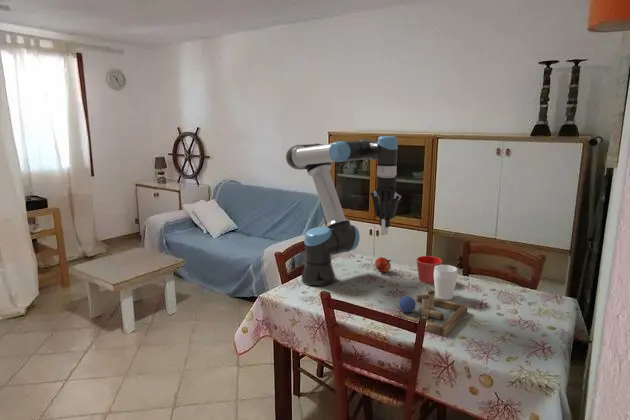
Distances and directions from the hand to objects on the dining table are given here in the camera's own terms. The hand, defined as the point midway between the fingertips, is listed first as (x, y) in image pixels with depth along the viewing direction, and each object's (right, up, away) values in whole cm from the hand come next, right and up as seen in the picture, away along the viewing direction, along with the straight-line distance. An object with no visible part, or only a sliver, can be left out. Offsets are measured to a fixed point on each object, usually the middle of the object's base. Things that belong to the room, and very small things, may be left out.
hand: (384, 234), depth 168 cm
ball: (+6, -25, -13) cm, 29 cm away
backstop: (+14, -29, -17) cm, 36 cm away
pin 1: (+12, -29, -18) cm, 36 cm away
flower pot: (+22, -22, +18) cm, 36 cm away
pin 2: (+15, -28, -14) cm, 35 cm away
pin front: (+11, -27, -15) cm, 33 cm away
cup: (+24, -25, 0) cm, 35 cm away
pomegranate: (+4, -20, +29) cm, 35 cm away
